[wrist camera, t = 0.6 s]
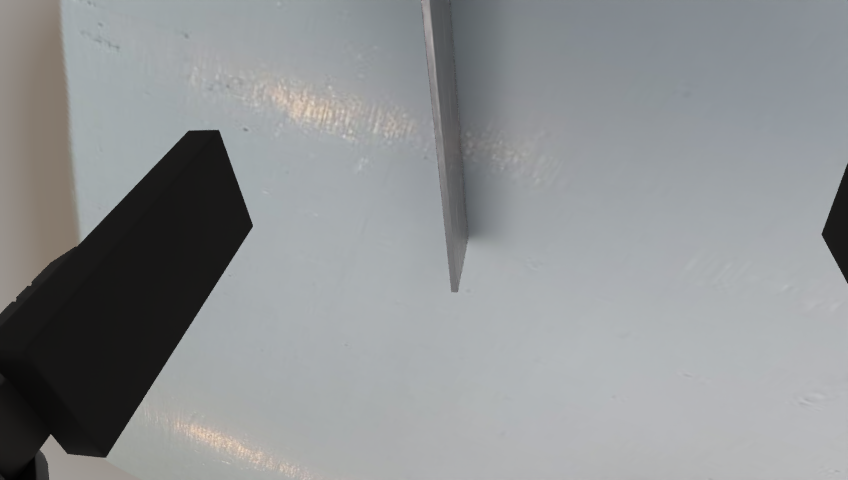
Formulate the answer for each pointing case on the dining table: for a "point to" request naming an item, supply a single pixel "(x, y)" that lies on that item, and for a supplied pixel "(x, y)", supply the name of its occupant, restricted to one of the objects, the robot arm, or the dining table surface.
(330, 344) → the dining table surface
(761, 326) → the dining table surface
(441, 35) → the knife
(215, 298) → the dining table surface
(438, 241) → the dining table surface
